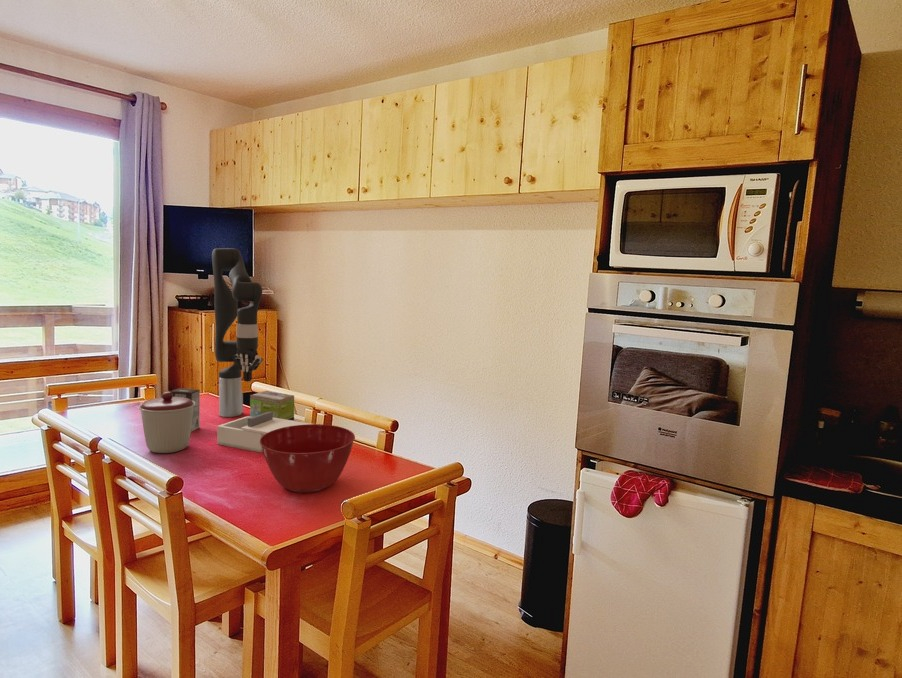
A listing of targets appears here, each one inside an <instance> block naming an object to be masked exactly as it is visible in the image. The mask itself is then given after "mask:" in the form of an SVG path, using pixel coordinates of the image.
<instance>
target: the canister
mask: <svg viewBox="0 0 902 678" xmlns="http://www.w3.org/2000/svg"><path fill="white" fill-rule="evenodd" d="M194 406H195V402H194V401H192V400H190V399H188V398H184V397H173V394H172V393H171V391H164V392H162V394H161V397H155V398H151V399H148V400H145V401H144V402H142V403H141V404H139V405H138V408H137V409H138V410H140V414H141V420H142V421H141V422H142V427H143V428H142V429H143V434H144V439H145V444H146V447H147V449H148V450H149V451H150V452H152V453H155V454H170V453H177V452H179V451H182V450H185V449H186V448H187V447H188V446H189V444H190V440H191V439H190V438H191V433H192V432H191V426H192V417H193V407H194Z"/></svg>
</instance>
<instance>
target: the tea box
mask: <svg viewBox="0 0 902 678" xmlns="http://www.w3.org/2000/svg"><path fill="white" fill-rule="evenodd" d="M249 397H250V398H249V405H250V407H249V415H250V416H249V417H254V416H257V415H260V414H263V413H266V412H269V411H271V412H273V417H274V418H280V419H286V420H292V421H295V395H294V394H288V393H281V392H277V391H270V390H264V391H261V392H257V393H254V394H250V395H249Z"/></svg>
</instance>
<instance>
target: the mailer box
mask: <svg viewBox="0 0 902 678" xmlns="http://www.w3.org/2000/svg"><path fill="white" fill-rule="evenodd" d="M248 418H251V417H250V416H249V415H248V416H244V417H243V416H242V417H241V418H237V419H235V420H234V419H233V420H231V421H228V422H226V423H222V424H219V425H217V426H216V427H217V428H216V429H217V430H216V431H217V433H216V435H217V438H216V439H217V443H216V444H217V445H219V446H225V447H231V448H234V449H241V450H246V451H250V452H255V453H256V452H257V453H264V452H263V449H262V445H261V444H260V438H261V437H262V436H263V435H265V434H262V433H256V432H251V431H245V430H241V428H242V427H244V426H247V425H248Z"/></svg>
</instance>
